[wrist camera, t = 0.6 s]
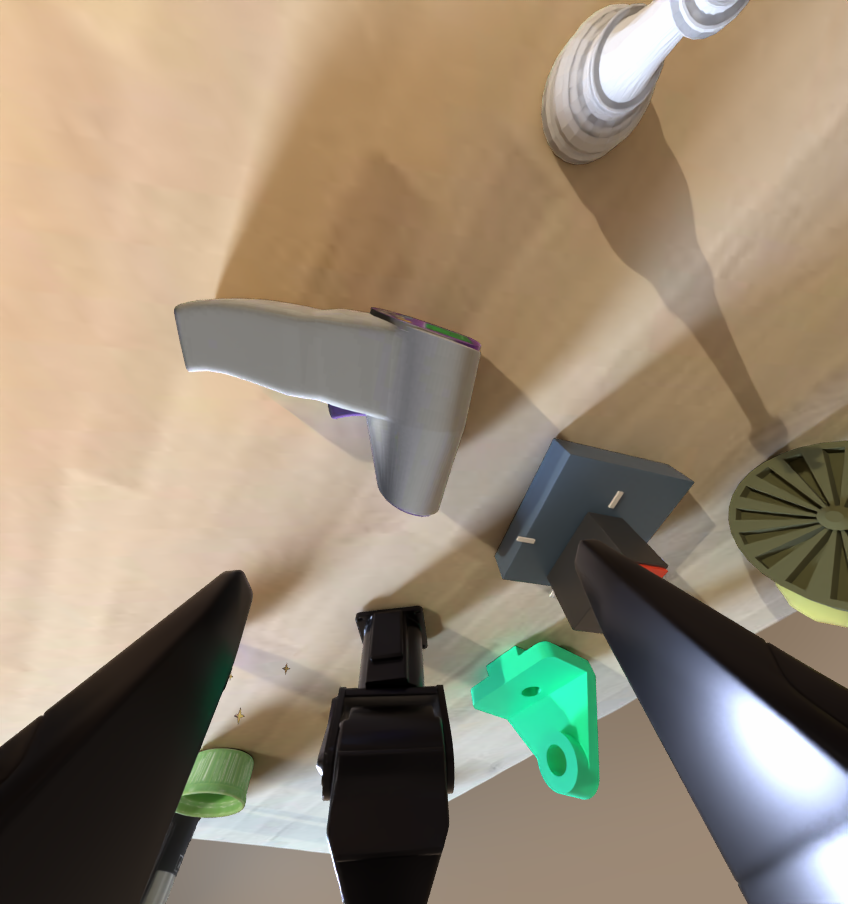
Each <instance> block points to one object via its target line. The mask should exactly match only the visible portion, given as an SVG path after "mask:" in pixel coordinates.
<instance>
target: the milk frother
mask: <svg viewBox="0 0 848 904" xmlns="http://www.w3.org/2000/svg"><path fill="white" fill-rule="evenodd" d="M200 819H201V817H192V816H186V815H182V814H179V813H176V812H175V814H174V817H173V819H172V822H171V824H170V827H169V830H168V832H167V835H166V837H165V840H164V842H163V845H162V847H161V850H160V852H159V855H158V858H157V860H156V863H155V865H154V868H153V870H152V873H151V875H150V878H149V880H148V883H147V886H146V888H145V891H144V893H143V896H142V898H141V901H140V903H139V904H166V902H167V899H168V897H169V894H170V891H171V889H172V886H173V883H174V880H175V877H176V876H177V873H178V871H179V868H180V865H181V863H182V860H183V857H184V854H185V852H186V849H187V847H188V845H189V842H190V841H191V839H192V836H193V834H194V831H195V829H196V825H197V823H198V821H199V820H200Z"/></svg>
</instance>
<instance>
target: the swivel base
mask: <svg viewBox="0 0 848 904" xmlns="http://www.w3.org/2000/svg"><path fill="white" fill-rule="evenodd" d="M693 484H694V481H692V480H691V479H689V478H688V477H686V476H685V475H683V474H682V473H680V472H679V471H677V470H676V469H674V468H672V467H671V466H669V465H667V464H663V463H659V462H654V461H650V460H646V459H642V458H637V457H633V456H629V455H625V454H620V453H616V452H612V451H607V450H603V449H599V448H595V447H590V446H586V445H582V444H577V443H573V442H569V441H565V440H560V439H556V438H554V439H553V441H552V443H551V445H550V447H549V449H548V451H547V453H546V455H545V457H544V459H543V461H542V463H541V465H540V467H539V469H538V471H537V473H536V475H535V477H534V479H533V481H532V483H531V485H530V487H529V489H528V491H527V493H526V495H525V497H524V499H523V501H522V503H521V505H520V507H519V509H518V511H517V513H516V515H515V517H514V519H513V521H512V523H511V525H510V527H509V529H508V531H507V533H506V535H505V537H504V539H503V541H502V543H501V545H500V547H499V549H498V551H497V553H496V555H495V558H496V561H497V564H498V567H499V570H500V573H501V576H502V579H505V580H512V581H519V582H526V583H533V584H541V585H548V586H551V585H550V583H549V581H548V579H547V576H548V574H549V573H550V571H551V569H552V568H553V566H554V565H555V563H556V562H557V560H558V558H559V557H560V555H561V554H562V552H563V550H564V549H565V547H566V546H567V544H568V543H569V541H570V539H571V538H572V536H573V535H574V533H575V531H576V530H577V528H578V527H579V525H580V524H581V522H582V520H583V519H584V517H585V516H586V514H587V512H592V513H597V514H602V515H607V516H613V517H618V518H623V519H624V520H625V521H626V522H627V523H628V524H629V525H630V527H631V528H632V529H633V530H634V531H635V532H636V533H637V534H638V535H639V536H640V537H641V538H642V539H643V540H644V541H645V542H646V543H647V542H648V541H649V540H650V539H651V537H652V536H653V535H654V533H655V532H656V531H657V530H658V528H659V527H660V526H661V525H662V523H663V522H664V521H665V519H666V518H667V517H668V516H669V514H670V513H671V512H672V510H673V509H674V508H675V507H676V505H677V504H678V503H679V502H680V500H681V499H682V498H683V496H684V495H685V494H686V493H687V491H688V490H689V489H690V488H691V486H692V485H693ZM549 596H550V597H554V596H555V593H554V591H553V590H552V592H551V593H550V595H549Z"/></svg>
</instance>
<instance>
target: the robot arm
mask: <svg viewBox="0 0 848 904" xmlns="http://www.w3.org/2000/svg"><path fill="white" fill-rule="evenodd" d="M574 563H575V569H576V572H577V575H578V577H579V579H580V582H581V584H582V587H583V589H584V591H585V594H586V596H587V598H588V601H589V603H590V606H591V608H592V610H593V613H594V615H595V618H596V620H597V622H598V624H599V626H600V628H601V630H602V632H603V634H604V636H605V638H606V640H607V642H608V644H609V646H610V647H611V649H612V651H613V653H614V655H615V657H616V659H617V661H618V662H619V664H620V666H621V668H622V670H623V672H624V674H625V675H626V677H627V679H628V681H629V683H630V685H631V687H632V688H633V690H634V692H635V694H636V696H637V698H638V700H639V701H640V703H641V705H642V707H643V709H644V711H645V713H646V715H647V716H648V718H649V720H650V722H651V724H652V726H653V727H654V729H655V731H656V733H657V735H658V737H659V739H660V741H661V742H662V744H663V746H664V748H665V750H666V752H667V754H668V755H669V757H670V759H671V761H672V763H673V765H674V766H675V768H676V770H677V772H678V774H679V776H680V778H681V780H682V781H683V783H684V785H685V787H686V788H687V791H688V793H689V794H690V796H691V798H692V800H693V802H694V804H695V806H696V807H697V809H698V811H699V813H700V815H701V817H702V819H703V821H704V822H705V824H706V826H707V828H708V830H709V832H710V833H711V836H712V837H713V839H714V841H715V843H716V845H717V847H718V849H719V850H720V852H721V854H722V856H723V858H724V859H725V862H726V863H727V865H728V867H729V869H730V870H731V873H732V875H733V876H734V878H735V880H736V881H737V882H738V886H739V888H740V890H741V892H742V894H743V896H744V897H745V899H746V901H747V903H748V904H848V689H847V688H845V687H843V686H842V685H840V684H838V683H836V682H835V681H833V680H831V679H829V678H828V677H826V676H824V675H823V674H821V673H819V672H818V671H816V670H814V669H812V668H811V667H809V666H807V665H805V664H804V663H802V662H801V661H799V660H797V659H795V658H794V657H792V656H790V655H789V654H787V653H785V652H784V651H782V650H780V649H779V648H777V647H775V646H774V645H772V644H770V643H766V642H765V640H764V639H762V638H760V637H759V636H757V635H755V634H754V633H752V632H750V631H749V630H747V629H745V628H744V627H742V626H740V625H739V624H737V623H735V622H734V621H732V620H730V619H729V618H727V617H726V616H724V615H722V614H721V613H719V612H717V611H716V610H714V609H712V608H711V607H709V606H707V605H706V604H704V603H702V602H701V601H699V600H697V599H696V598H694V597H692V596H691V595H689V594H687V593H686V592H684V591H682V590H681V589H679V588H677V587H676V586H674V585H672V584H671V583H669V582H668V581H666V580H664V579H663V578H661V577H659V576H658V575H656V574H654V573H653V572H651V571H649V570H648V569H646V568H644V567H643V566H641V565H639V564H638V563H636V562H634V561H633V560H631V559H629V558H628V557H626V556H624V555H623V554H621V553H619V552H618V551H616V550H614V549H613V548H611V547H609V546H608V545H606V544H605V543H603V542H601V541H599V540H598V539H584V540H581V541H580V542H579V544H578V548H577V553H576V557H575V562H574ZM252 598H253V593H252V589H251V587H250V585H249V582H248V580H247V578H246V576H245V574H244V572H243V571H241V570H233V571H225V572H223V573H222V574H220V575H219V576H218V577H216V578H215V579H214V580H213V581H211V582H210V583H209V584H208V585H206V586H205V587H204V588H202V589H201V590H200V591H199V592H197V593H196V594H195V595H194V596H192V597H191V598H190V599H188V600H187V601H186V602H185V603H183V604H182V605H181V606H180V607H178V608H177V609H176V610H174V611H173V612H172V613H171V614H169V615H168V616H167V617H165V618H164V619H163V620H162V621H160V622H159V623H158V624H157V625H155V626H154V627H153V628H151V629H150V630H149V631H148V632H146V633H145V634H144V635H143V636H141V637H140V638H139V639H137V640H136V641H135V642H134V643H132V644H131V645H130V646H129V647H127V648H126V649H125V650H123V651H122V652H121V653H120V654H118V655H117V656H116V657H115V658H113V659H112V660H111V661H109V662H108V663H107V664H106V665H104V666H103V667H102V668H100V669H99V670H98V671H97V672H95V673H94V674H93V675H92V676H90V677H89V678H88V679H86V680H85V681H84V682H83V683H81V684H80V685H79V686H78V687H76V688H75V689H74V690H72V691H71V692H70V693H69V694H67V695H66V696H65V697H63V698H62V699H61V700H60V701H58V702H57V703H56V704H55V705H53V706H52V707H51V708H49V709H48V710H47V711H46V712H45V713H44V715H43V716H39V717H38V718H37V719H35V720H34V721H33V722H31V723H30V724H29V725H28V726H26V727H25V728H24V729H23V730H21V731H20V732H19V733H17V734H16V735H15V736H14V737H12V738H11V739H10V740H8V741H7V742H6V743H5V744H3V745H2V746H1V747H0V904H139V903H140V901H141V898H142V896H143V893H144V891H145V888H146V886H147V883H148V880H149V878H150V875H151V873H152V870H153V868H154V865H155V863H156V860H157V858H158V855H159V852H160V850H161V847H162V845H163V842H164V840H165V837H166V835H167V832H168V830H169V827H170V824H171V822H172V819H173V817H174V814H175V812H176V809H177V807H178V804H179V802H180V799H181V796H182V794H183V791H184V789H185V786H186V784H187V781H188V779H189V776H190V774H191V771H192V768H193V766H194V763H195V761H196V758H197V756H198V753H199V751H200V748H201V746H202V743H203V740H204V738H205V735H206V733H207V730H208V728H209V725H210V723H211V720H212V718H213V715H214V712H215V710H216V707H217V705H218V702H219V700H220V697H221V695H222V692H223V690H224V687H225V684H226V682H227V679H228V677H229V674H230V672H231V669H232V666H233V663H234V661H235V657H236V654H237V651H238V648H239V644H240V641H241V637H242V634H243V630H244V627H245V623H246V620H247V616H248V613H249V609H250V606H251V602H252ZM355 620H356V623H357V627H358V630H359V633H360V636H361V640H362V643H363V650H362V659H361V667H360V676H359V685H358V688H346V687H340V689H339V694H338V696H337V697H335V698H334V699H332V704H331V710H330V715H329V720H328V725H327V729H326V732H325V736H324V739H323V743H322V746H321V749H320V753H319V756H318V761H317V769H318V771H319V773H320V775H321V776H322V786H323V790H322V798H323V801H328V800H330V807H329V815H328V823H327V840H328V844H329V848H330V852H331V856H332V860H333V863H334V868H335V871H336V876H337V880H338V884H339V888H340V892H341V896H342V900H343V904H427V902H428V898H429V895H430V891H431V888H432V884H433V881H434V877H435V874H436V871H437V867H438V863H439V860H440V857H441V853H442V850H443V848H444V844H445V840H446V836H447V832H448V828H449V810H448V794H451V793H453V790H454V754H453V743H452V736H451V730H450V724H449V718H448V712H447V706H446V700H445V694H444V688H443V685H437V686H428V687H424V671H423V652H422V649H425V648H427V646H428V645H427V636H426V629H425V622H424V615H423V609H422V607H421V606H412V607H404V608H395V609H386V610H377V611H368V612H360V613H357V614H356V619H355Z"/></svg>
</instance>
